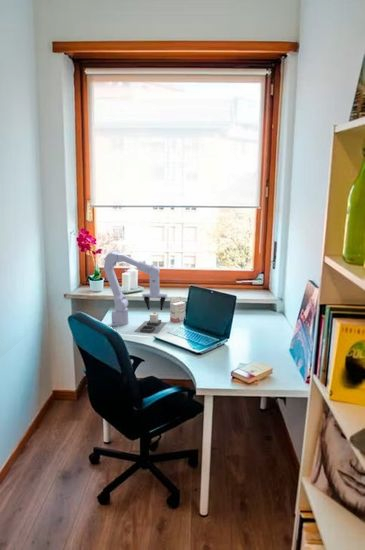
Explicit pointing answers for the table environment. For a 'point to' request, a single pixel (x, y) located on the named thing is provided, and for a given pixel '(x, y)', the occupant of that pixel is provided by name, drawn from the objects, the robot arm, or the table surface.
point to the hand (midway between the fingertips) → (155, 309)
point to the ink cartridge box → (177, 309)
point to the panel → (151, 327)
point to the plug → (154, 317)
